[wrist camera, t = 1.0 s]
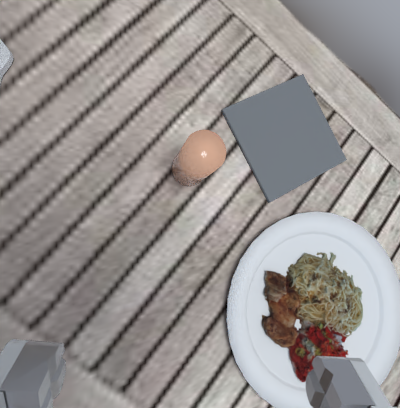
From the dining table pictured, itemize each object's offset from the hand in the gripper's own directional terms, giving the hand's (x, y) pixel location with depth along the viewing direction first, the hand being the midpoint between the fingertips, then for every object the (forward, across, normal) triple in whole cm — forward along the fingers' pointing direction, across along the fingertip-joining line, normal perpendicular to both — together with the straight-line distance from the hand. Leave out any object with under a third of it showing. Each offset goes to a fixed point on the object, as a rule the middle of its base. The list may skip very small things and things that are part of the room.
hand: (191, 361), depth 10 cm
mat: (+42, -16, 0) cm, 45 cm away
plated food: (+29, -22, +23) cm, 44 cm away
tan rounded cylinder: (+36, -1, +5) cm, 37 cm away
